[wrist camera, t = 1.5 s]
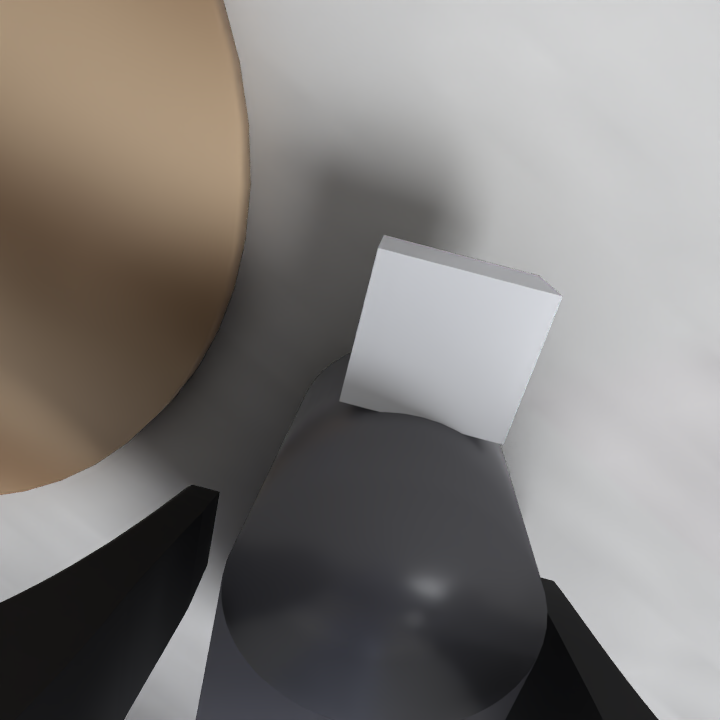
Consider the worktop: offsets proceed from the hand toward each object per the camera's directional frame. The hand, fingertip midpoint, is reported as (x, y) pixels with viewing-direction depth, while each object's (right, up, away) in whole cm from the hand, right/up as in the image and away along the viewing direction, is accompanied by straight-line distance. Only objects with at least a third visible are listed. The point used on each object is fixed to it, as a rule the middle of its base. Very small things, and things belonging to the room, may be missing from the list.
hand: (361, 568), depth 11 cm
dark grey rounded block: (0, +2, +1) cm, 2 cm away
